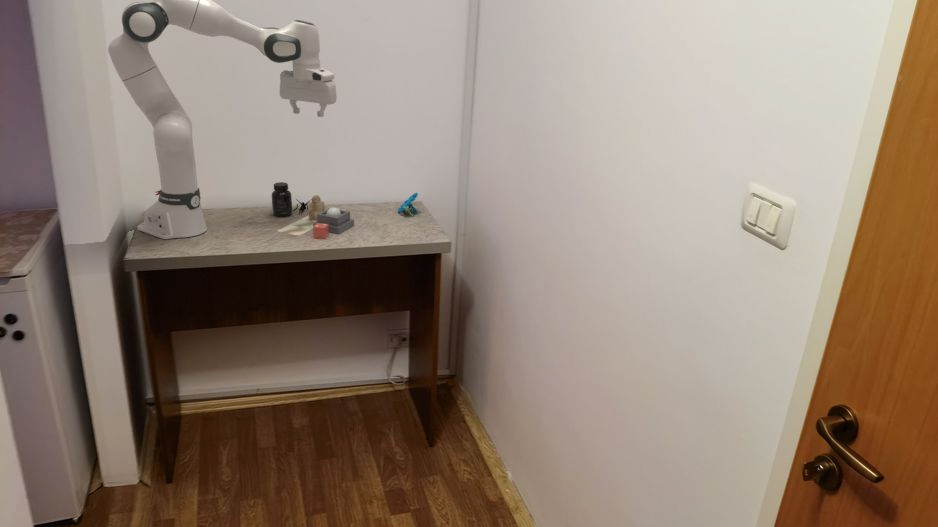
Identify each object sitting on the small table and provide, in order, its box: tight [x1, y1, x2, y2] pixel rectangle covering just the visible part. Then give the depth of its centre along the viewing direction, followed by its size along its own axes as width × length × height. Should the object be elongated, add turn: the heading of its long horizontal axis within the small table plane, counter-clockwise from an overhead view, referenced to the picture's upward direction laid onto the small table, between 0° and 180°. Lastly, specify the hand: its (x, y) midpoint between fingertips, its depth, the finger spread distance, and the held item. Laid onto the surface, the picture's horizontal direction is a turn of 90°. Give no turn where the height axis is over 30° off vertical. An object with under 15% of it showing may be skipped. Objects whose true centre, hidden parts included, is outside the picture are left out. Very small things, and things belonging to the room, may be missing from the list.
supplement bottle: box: [271, 181, 293, 218], centre depth 253 cm, size 7×7×12 cm
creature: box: [292, 198, 312, 216], centre depth 258 cm, size 8×5×8 cm
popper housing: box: [313, 207, 355, 235], centre depth 244 cm, size 10×10×6 cm
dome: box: [326, 206, 341, 217], centre depth 243 cm, size 5×5×5 cm
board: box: [277, 214, 316, 237], centre depth 245 cm, size 20×21×1 cm
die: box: [312, 223, 330, 240], centre depth 235 cm, size 4×4×4 cm
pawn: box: [307, 194, 326, 221], centre depth 251 cm, size 4×4×8 cm
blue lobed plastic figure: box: [397, 192, 419, 217], centre depth 265 cm, size 11×6×10 cm
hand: (308, 115), depth 239 cm, fingers open, 8 cm apart
